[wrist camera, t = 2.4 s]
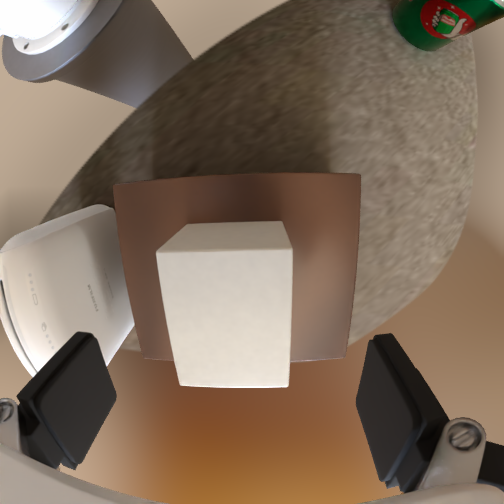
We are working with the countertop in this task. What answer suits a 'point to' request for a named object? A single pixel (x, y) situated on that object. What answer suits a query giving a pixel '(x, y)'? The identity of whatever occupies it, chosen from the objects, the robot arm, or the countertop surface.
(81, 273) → the photo printer
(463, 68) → the countertop surface
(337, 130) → the countertop surface
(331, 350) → the storage box
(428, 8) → the soda can
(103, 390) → the robot arm
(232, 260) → the white box
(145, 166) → the countertop surface
